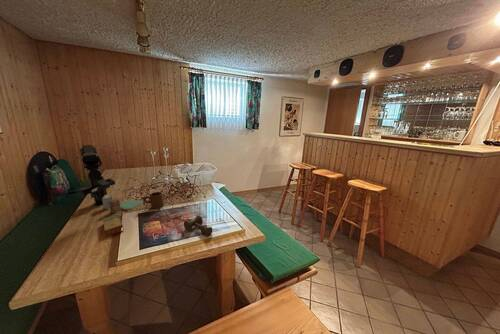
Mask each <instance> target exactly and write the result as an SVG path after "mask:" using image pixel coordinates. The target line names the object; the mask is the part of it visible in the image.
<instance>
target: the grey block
mask: <svg viewBox="0 0 500 334" xmlns="http://www.w3.org/2000/svg"><path fill="white" fill-rule="evenodd" d="M111 200H113V196H112V195H108V194H106V195H104V197H103V199H102V201H103V204H102V206H103V208H104V209H106V210H110V206H109V201H111Z"/></svg>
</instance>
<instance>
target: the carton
mask: <svg viewBox="0 0 500 334" xmlns="http://www.w3.org/2000/svg"><path fill="white" fill-rule="evenodd" d="M102 222H103V223H102V224H103V228H104V233H105V237H110V236H113V235H115V234H119V233H121V232H120V231H121V228H122V227H123V228H124V224H123V223H122V219H121V216H120V214H119V213H118V214H117V213H116V214H114V215H110V216H107V217H104V218H102Z"/></svg>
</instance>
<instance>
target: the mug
mask: <svg viewBox="0 0 500 334" xmlns="http://www.w3.org/2000/svg"><path fill="white" fill-rule="evenodd" d="M147 199H149V200H147ZM163 199H164V198H163V194H162V192H160V191H156V192H151V193H150V194H149V195H146V196H144V197H143V198H142V201H144V204H150V207H151V208H152V209H154V208H157V209H161V208H163V206H164V200H163ZM160 207H161V208H160Z"/></svg>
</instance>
